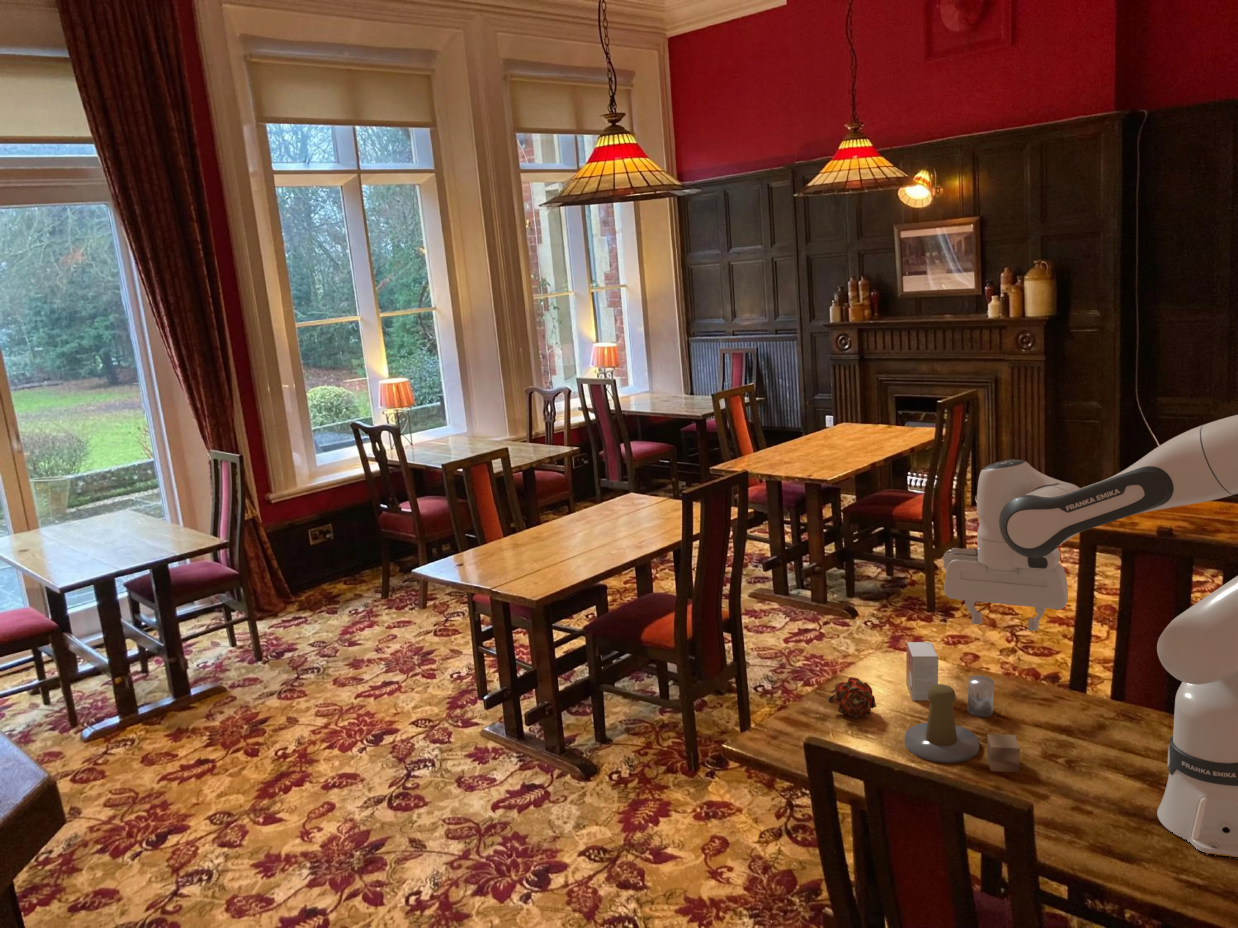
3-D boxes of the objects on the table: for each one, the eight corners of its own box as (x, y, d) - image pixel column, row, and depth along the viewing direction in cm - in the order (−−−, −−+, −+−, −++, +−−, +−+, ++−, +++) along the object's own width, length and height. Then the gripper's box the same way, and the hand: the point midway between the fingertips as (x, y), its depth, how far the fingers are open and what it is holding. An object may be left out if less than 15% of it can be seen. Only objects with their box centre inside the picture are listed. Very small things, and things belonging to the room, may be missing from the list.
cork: (953, 730, 195) (953, 679, 192) (961, 745, 189) (961, 693, 186) (922, 731, 195) (922, 680, 193) (929, 746, 189) (929, 694, 187)
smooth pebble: (985, 735, 194) (985, 730, 194) (970, 768, 183) (970, 763, 182) (914, 722, 201) (914, 716, 201) (896, 753, 190) (896, 747, 189)
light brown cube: (1014, 758, 185) (1015, 735, 184) (1019, 772, 180) (1020, 748, 179) (986, 757, 186) (987, 733, 185) (990, 771, 181) (991, 747, 180)
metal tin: (996, 710, 204) (998, 679, 202) (986, 719, 201) (988, 688, 199) (973, 703, 207) (975, 673, 206) (963, 711, 204) (964, 681, 202)
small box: (906, 685, 218) (905, 641, 216) (931, 684, 217) (931, 641, 215) (911, 701, 211) (911, 656, 208) (938, 701, 210) (938, 655, 208)
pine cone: (866, 734, 201) (837, 717, 212) (893, 704, 202) (863, 689, 214) (842, 707, 199) (814, 691, 211) (869, 677, 201) (840, 663, 212)
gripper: (938, 551, 172) (940, 625, 175) (1064, 561, 161) (1064, 639, 164) (947, 542, 177) (948, 613, 180) (1069, 550, 167) (1069, 626, 169)
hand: (1004, 626), depth 172 cm, fingers open, 8 cm apart
